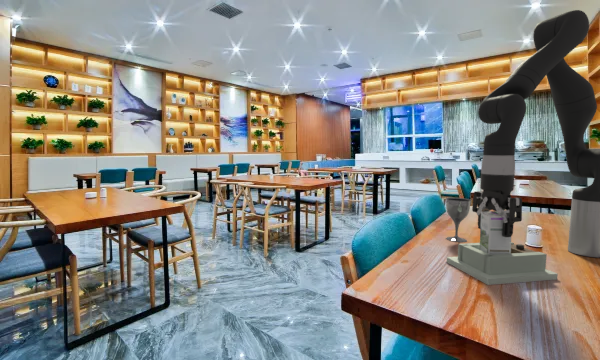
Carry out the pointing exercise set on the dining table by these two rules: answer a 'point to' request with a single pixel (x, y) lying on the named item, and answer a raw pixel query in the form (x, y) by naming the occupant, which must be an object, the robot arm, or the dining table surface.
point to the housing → (501, 265)
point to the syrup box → (493, 234)
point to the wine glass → (457, 214)
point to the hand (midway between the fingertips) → (493, 232)
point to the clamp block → (519, 249)
